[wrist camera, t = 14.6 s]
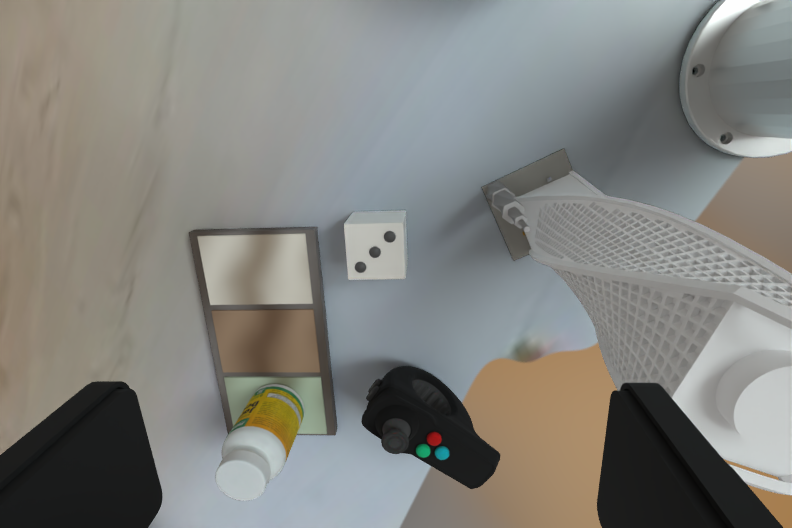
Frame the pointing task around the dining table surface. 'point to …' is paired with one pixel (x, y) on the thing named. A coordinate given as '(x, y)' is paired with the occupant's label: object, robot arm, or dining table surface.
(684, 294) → the skyscraper
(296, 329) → the game strip
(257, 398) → the supplement bottle
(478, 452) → the controller
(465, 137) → the dining table surface
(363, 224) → the die
